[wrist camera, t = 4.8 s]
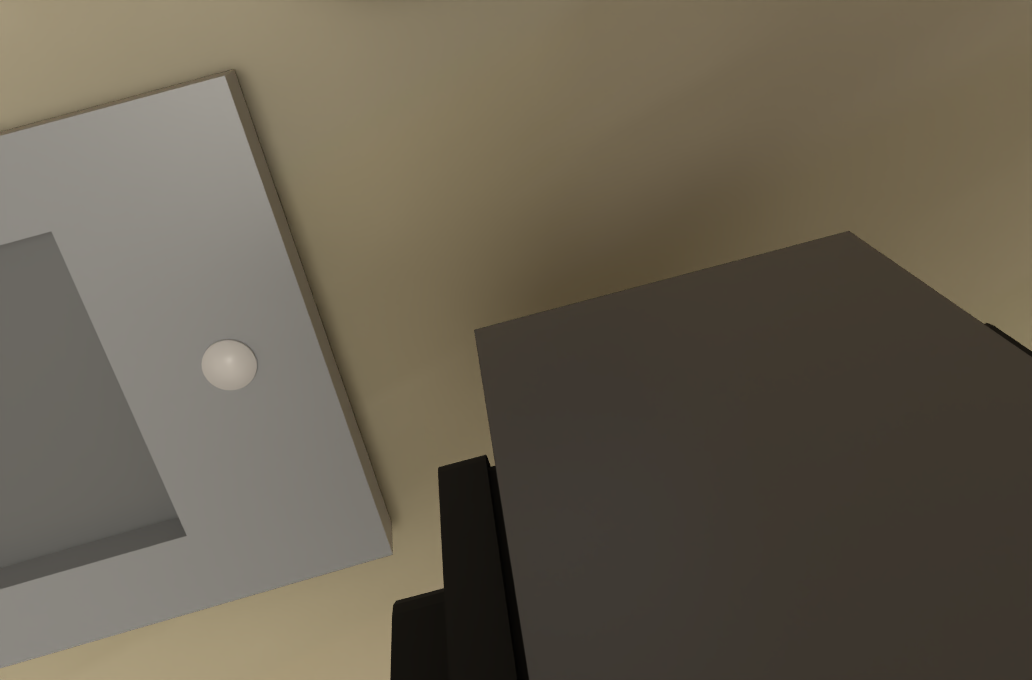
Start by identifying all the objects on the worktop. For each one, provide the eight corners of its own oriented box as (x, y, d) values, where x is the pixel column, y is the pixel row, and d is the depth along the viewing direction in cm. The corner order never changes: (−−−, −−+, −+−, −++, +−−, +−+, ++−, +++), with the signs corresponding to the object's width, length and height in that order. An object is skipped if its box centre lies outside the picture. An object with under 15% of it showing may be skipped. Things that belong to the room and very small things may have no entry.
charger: (848, 231, 11) (1448, 643, 5) (882, 542, 13) (1348, 1149, 7) (473, 330, 11) (560, 875, 5) (558, 627, 13) (703, 1315, 7)
